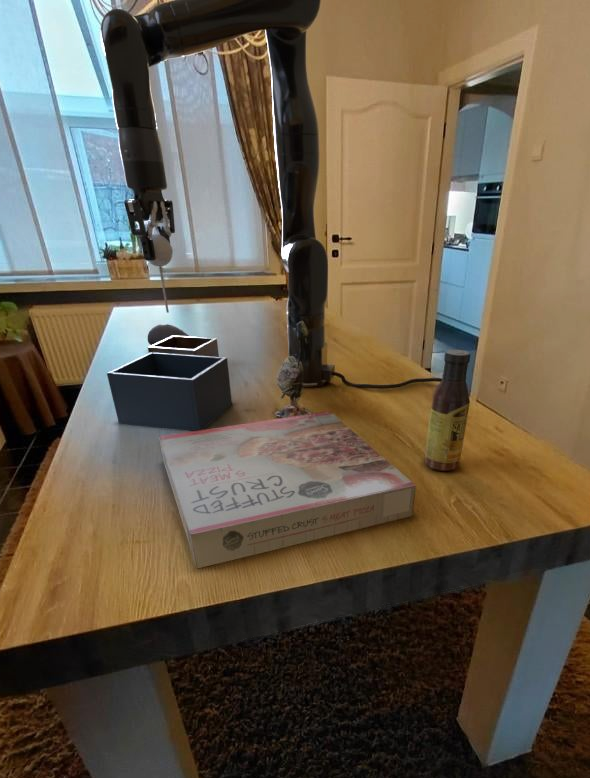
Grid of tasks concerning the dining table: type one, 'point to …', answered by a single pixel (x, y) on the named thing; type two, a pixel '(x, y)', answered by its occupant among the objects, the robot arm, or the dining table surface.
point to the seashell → (163, 333)
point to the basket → (187, 346)
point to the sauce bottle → (448, 414)
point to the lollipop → (161, 257)
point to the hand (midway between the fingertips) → (158, 258)
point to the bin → (171, 390)
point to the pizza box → (279, 485)
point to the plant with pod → (293, 379)
